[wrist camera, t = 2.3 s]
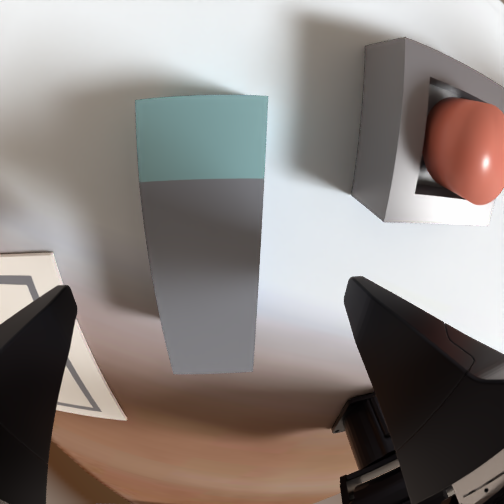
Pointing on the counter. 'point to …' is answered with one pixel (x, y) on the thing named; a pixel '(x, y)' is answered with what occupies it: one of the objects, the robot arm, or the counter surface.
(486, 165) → the button
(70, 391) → the paper sheet
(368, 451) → the robot arm
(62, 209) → the counter surface
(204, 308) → the teal-tipped grey block
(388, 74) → the button housing
